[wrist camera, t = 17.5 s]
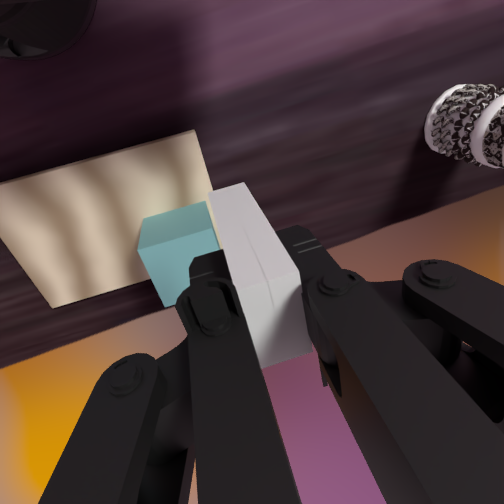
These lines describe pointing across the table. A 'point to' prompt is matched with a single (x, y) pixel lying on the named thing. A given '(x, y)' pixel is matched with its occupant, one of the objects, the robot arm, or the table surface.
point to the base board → (98, 215)
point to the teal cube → (175, 247)
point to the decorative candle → (468, 124)
